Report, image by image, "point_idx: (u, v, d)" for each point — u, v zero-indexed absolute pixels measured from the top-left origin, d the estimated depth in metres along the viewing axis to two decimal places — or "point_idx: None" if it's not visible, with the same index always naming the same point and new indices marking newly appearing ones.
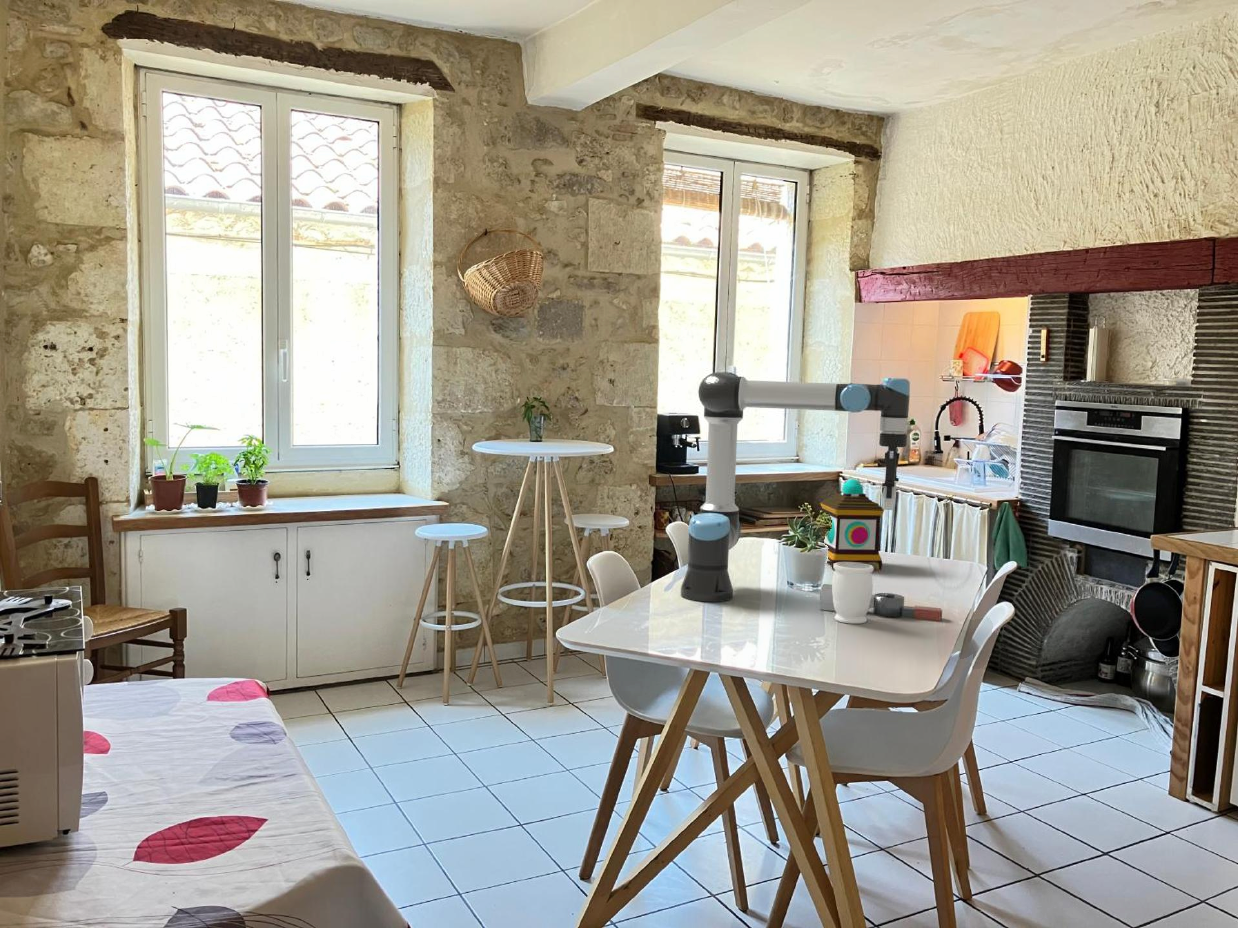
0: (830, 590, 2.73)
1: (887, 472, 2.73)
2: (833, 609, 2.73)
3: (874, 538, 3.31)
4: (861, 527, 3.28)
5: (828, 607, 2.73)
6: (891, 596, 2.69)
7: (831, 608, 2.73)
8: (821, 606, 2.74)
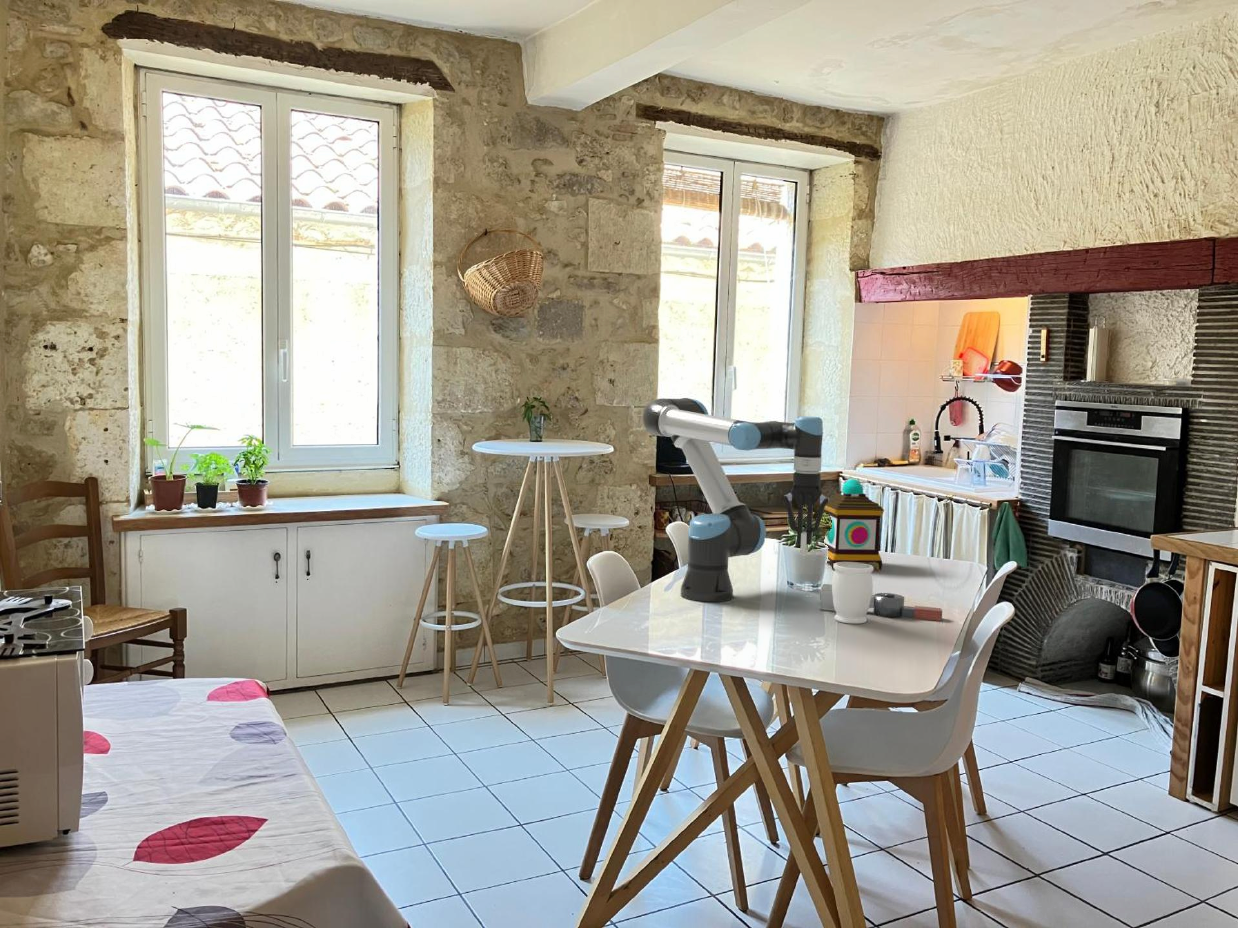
0: (830, 590, 2.73)
1: None
2: (833, 609, 2.73)
3: (874, 538, 3.31)
4: (861, 527, 3.28)
5: (828, 607, 2.73)
6: (891, 596, 2.69)
7: (831, 608, 2.73)
8: (821, 606, 2.74)
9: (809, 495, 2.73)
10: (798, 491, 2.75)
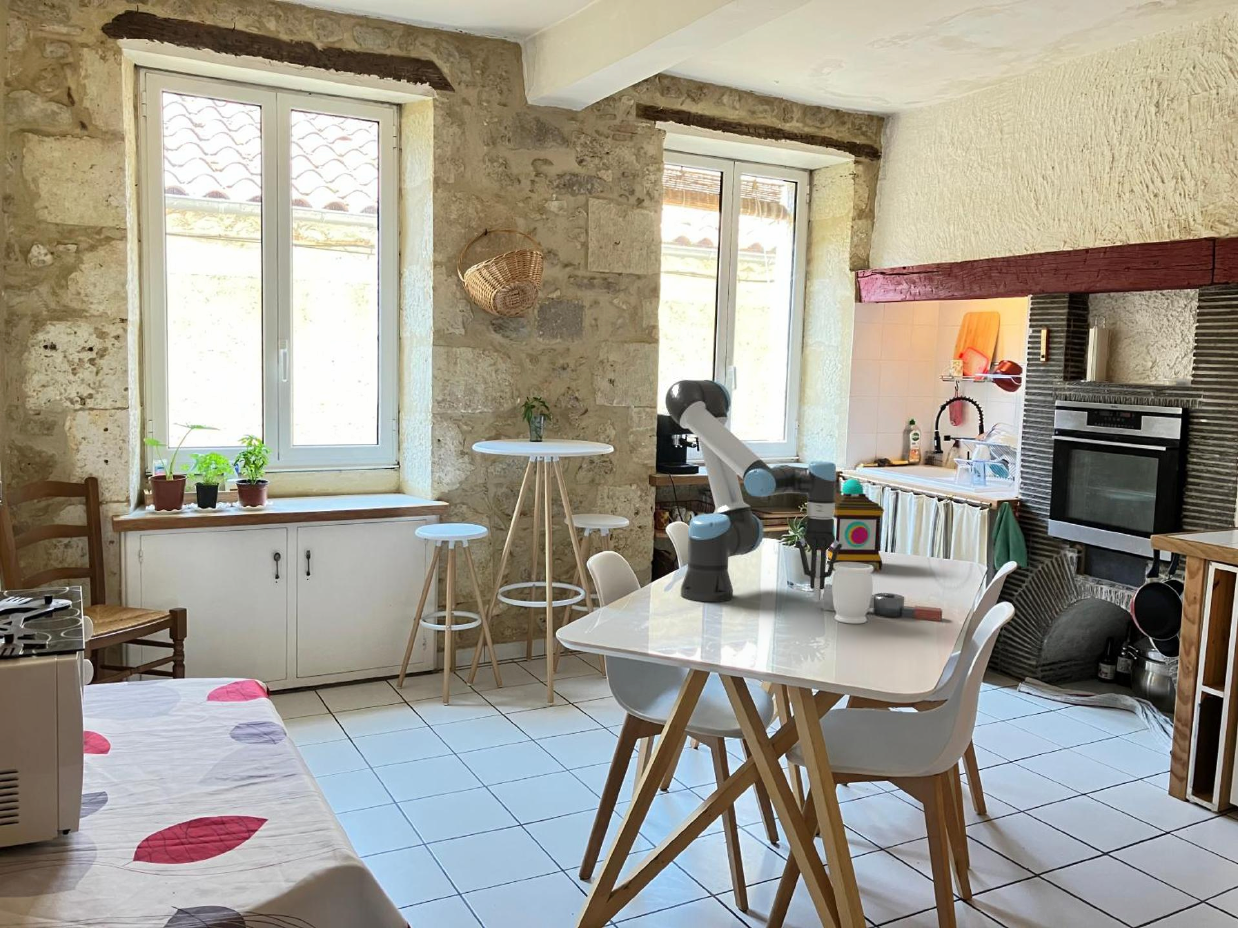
0: None
1: None
2: None
3: (874, 538, 3.31)
4: (861, 527, 3.28)
5: (831, 607, 2.73)
6: (891, 596, 2.69)
7: (834, 608, 2.73)
8: (824, 606, 2.73)
9: (822, 540, 2.73)
10: (811, 536, 2.75)
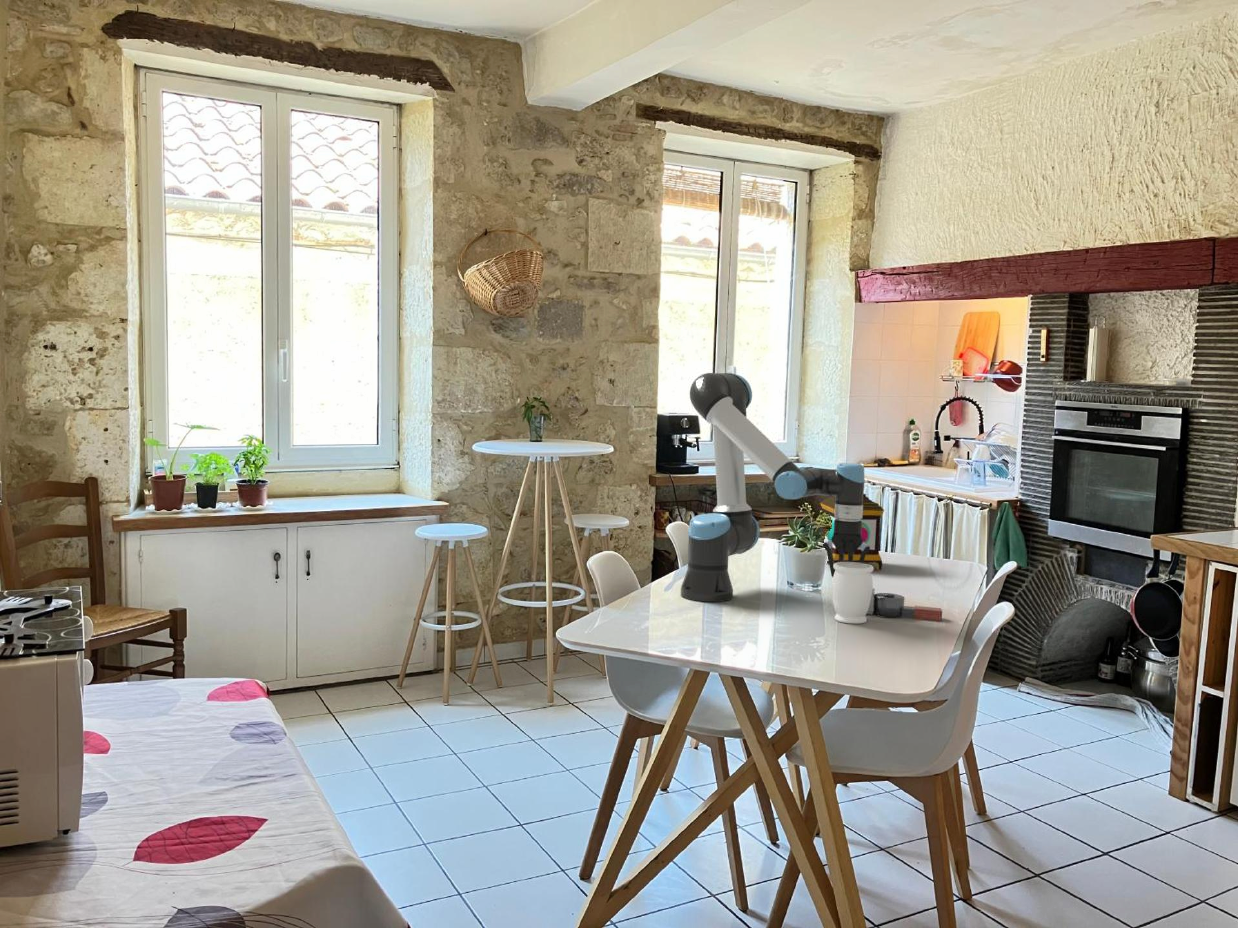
0: None
1: None
2: None
3: (874, 538, 3.31)
4: None
5: None
6: (891, 596, 2.69)
7: None
8: None
9: (850, 543, 2.71)
10: (839, 538, 2.72)
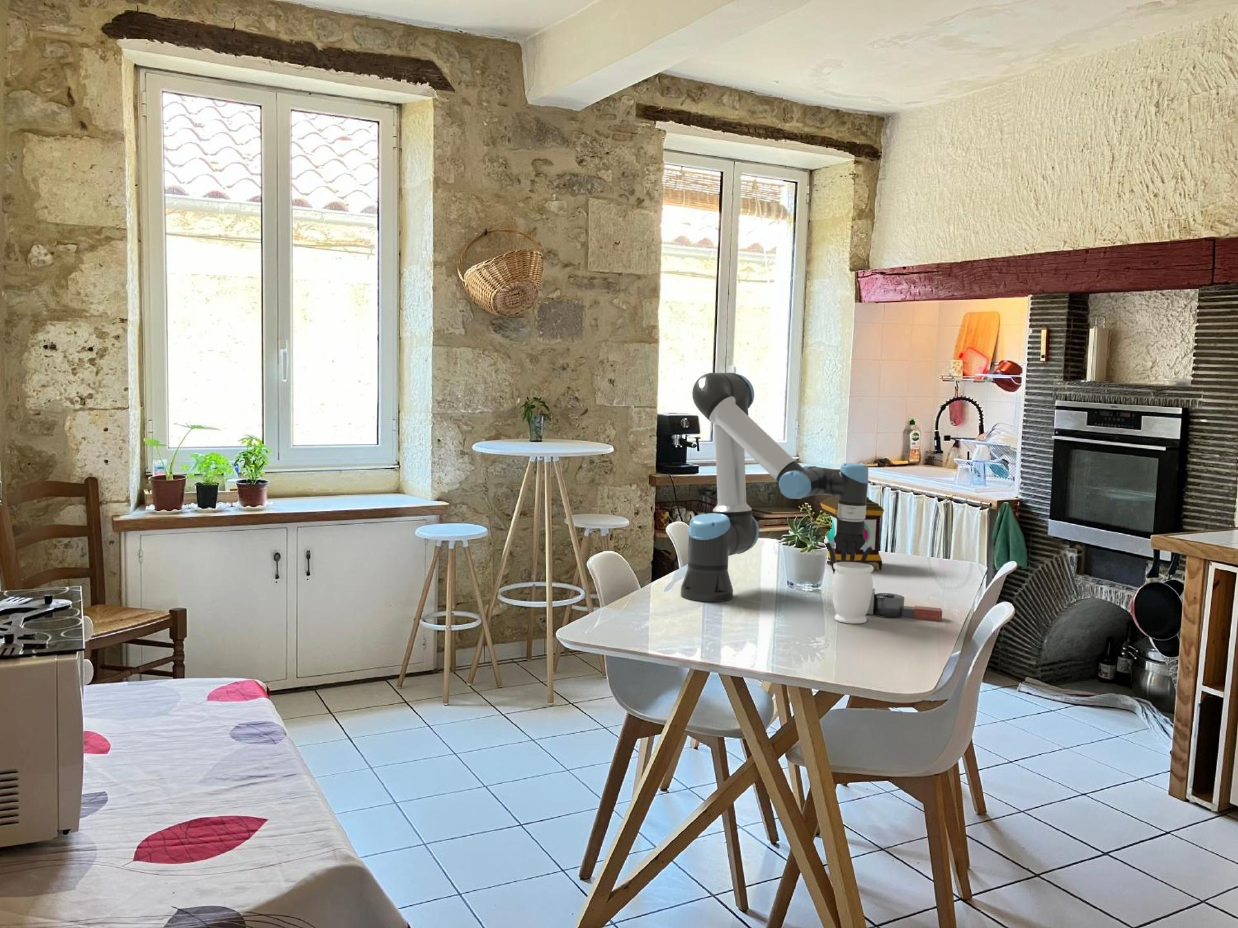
0: None
1: None
2: None
3: (874, 538, 3.31)
4: None
5: None
6: (891, 596, 2.69)
7: None
8: None
9: (853, 543, 2.71)
10: (841, 538, 2.72)
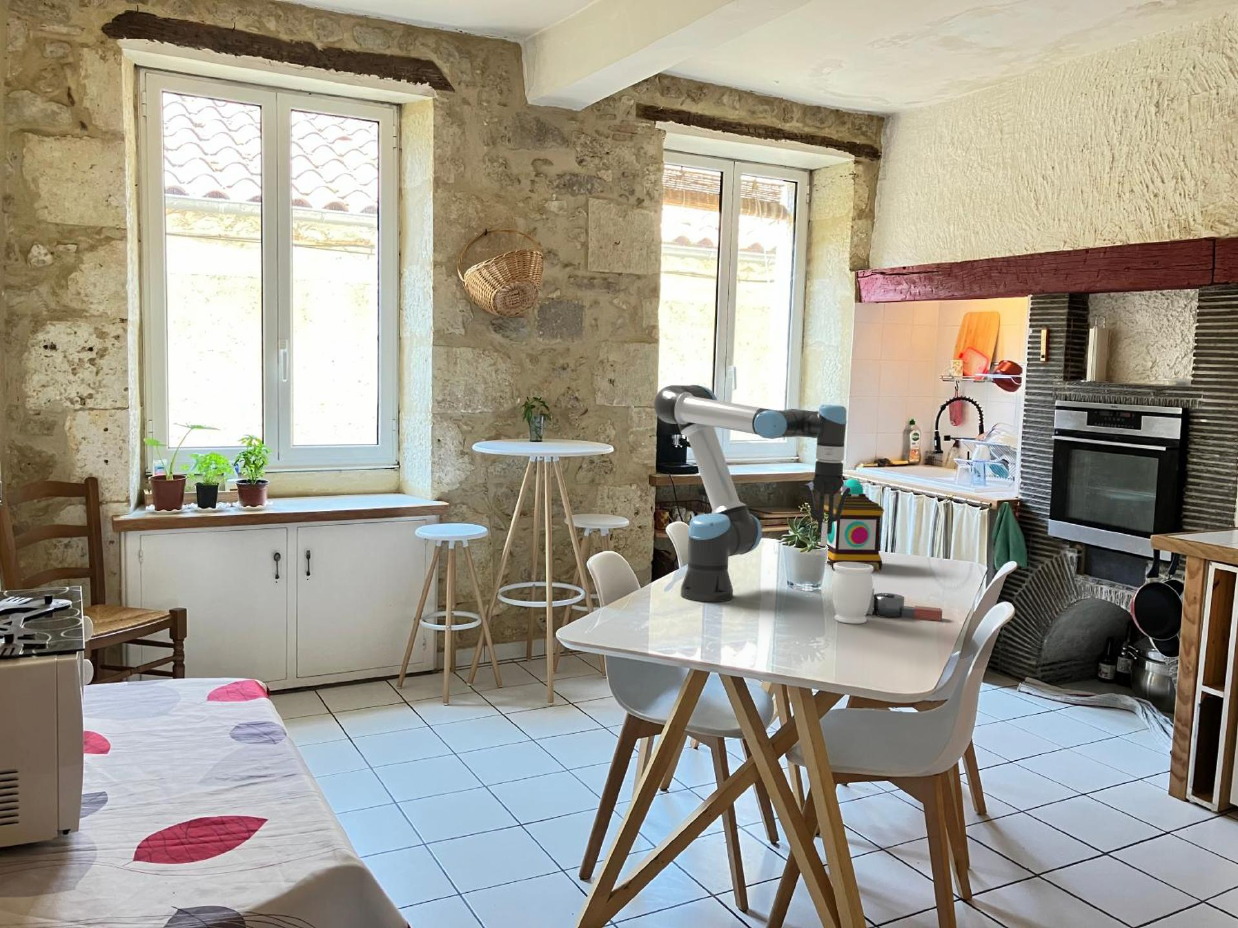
0: None
1: None
2: None
3: (874, 538, 3.31)
4: (861, 527, 3.28)
5: None
6: (891, 596, 2.69)
7: None
8: None
9: (831, 484, 2.71)
10: (820, 480, 2.73)
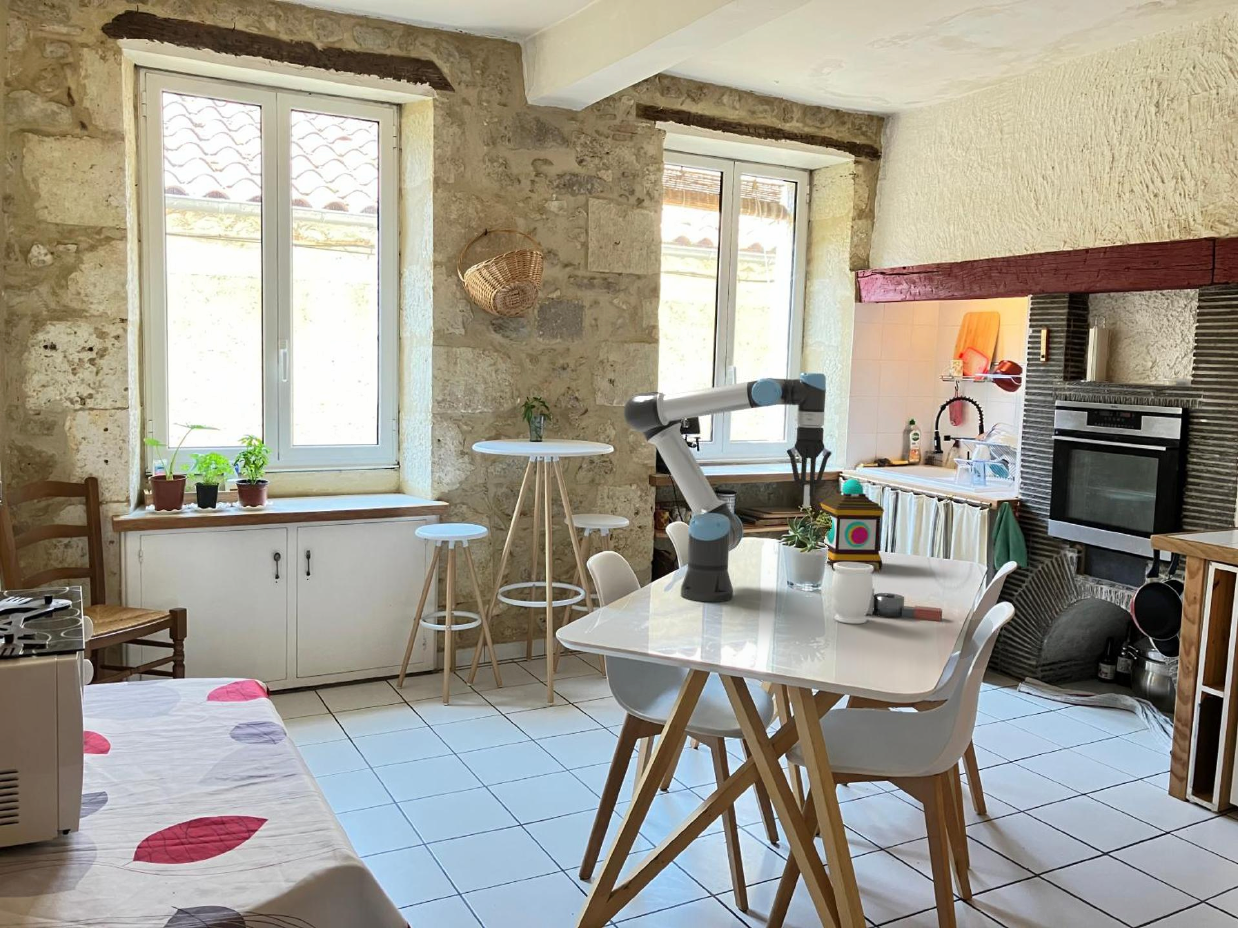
0: None
1: None
2: None
3: (874, 538, 3.31)
4: (861, 527, 3.28)
5: None
6: (891, 596, 2.69)
7: None
8: None
9: (812, 448, 2.84)
10: (802, 445, 2.85)
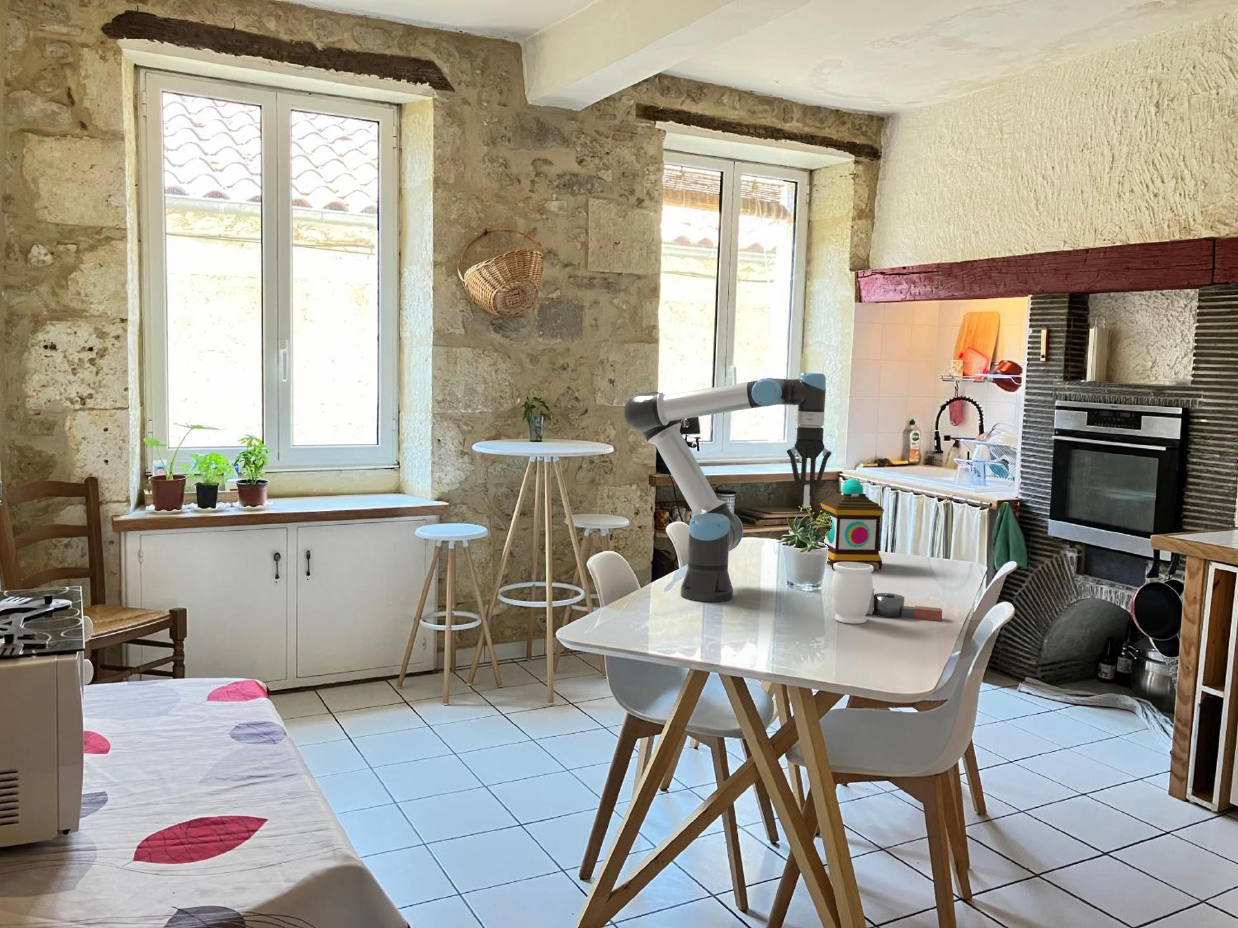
0: None
1: None
2: None
3: (874, 538, 3.31)
4: (861, 527, 3.28)
5: None
6: (891, 596, 2.69)
7: None
8: None
9: (812, 448, 2.84)
10: (802, 445, 2.85)
